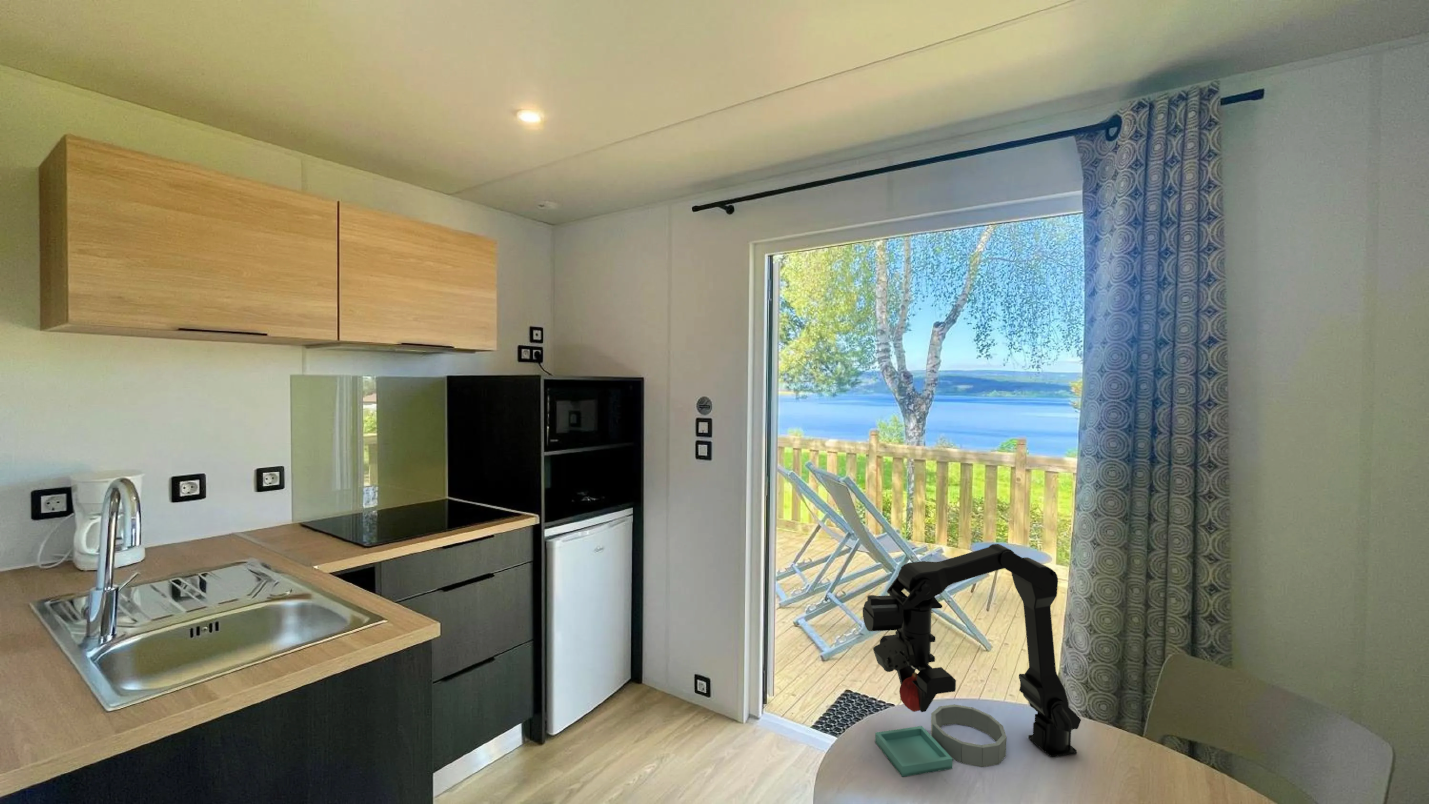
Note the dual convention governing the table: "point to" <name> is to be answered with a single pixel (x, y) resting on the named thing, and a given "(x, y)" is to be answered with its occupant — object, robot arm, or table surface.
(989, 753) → the ring
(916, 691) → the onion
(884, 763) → the table surface
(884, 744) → the tray
